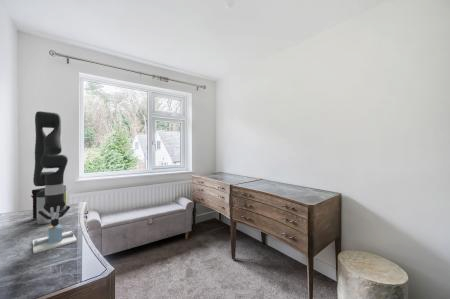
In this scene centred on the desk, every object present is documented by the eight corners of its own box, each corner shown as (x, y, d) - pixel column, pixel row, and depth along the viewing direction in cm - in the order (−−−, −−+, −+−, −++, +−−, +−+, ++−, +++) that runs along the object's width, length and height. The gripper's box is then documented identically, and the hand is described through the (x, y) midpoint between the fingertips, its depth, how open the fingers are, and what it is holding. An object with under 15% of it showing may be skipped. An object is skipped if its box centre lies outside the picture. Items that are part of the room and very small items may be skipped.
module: (47, 239, 100) (47, 226, 100) (60, 236, 104) (60, 223, 104) (48, 243, 95) (48, 230, 95) (61, 240, 99) (61, 227, 99)
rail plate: (32, 242, 99) (32, 237, 99) (71, 232, 111) (71, 228, 111) (33, 253, 88) (33, 248, 88) (76, 241, 100) (76, 236, 100)
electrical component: (42, 219, 132) (42, 190, 132) (30, 218, 134) (30, 189, 134) (67, 211, 149) (67, 185, 149) (57, 210, 151) (57, 185, 151)
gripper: (69, 189, 107) (69, 220, 107) (36, 193, 97) (36, 227, 98) (72, 191, 102) (72, 224, 102) (37, 196, 92) (37, 232, 92)
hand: (54, 226), depth 100 cm, fingers closed
